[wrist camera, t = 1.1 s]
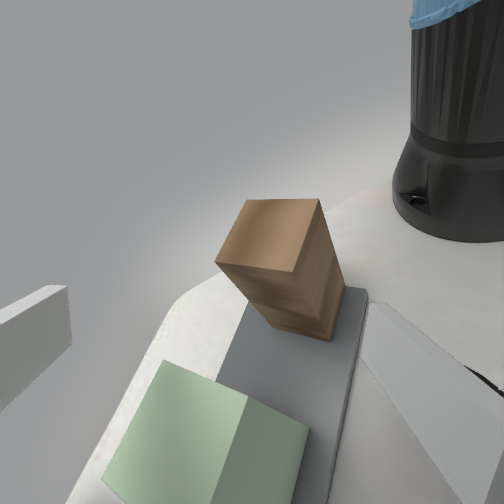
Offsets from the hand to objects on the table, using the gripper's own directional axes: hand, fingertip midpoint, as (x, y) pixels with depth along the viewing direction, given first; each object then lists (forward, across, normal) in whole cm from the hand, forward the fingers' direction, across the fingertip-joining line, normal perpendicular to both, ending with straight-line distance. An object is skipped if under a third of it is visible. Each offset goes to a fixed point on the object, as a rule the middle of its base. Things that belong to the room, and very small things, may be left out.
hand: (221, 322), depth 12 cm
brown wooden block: (+14, +8, -5) cm, 17 cm away
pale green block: (+6, +4, -15) cm, 16 cm away
